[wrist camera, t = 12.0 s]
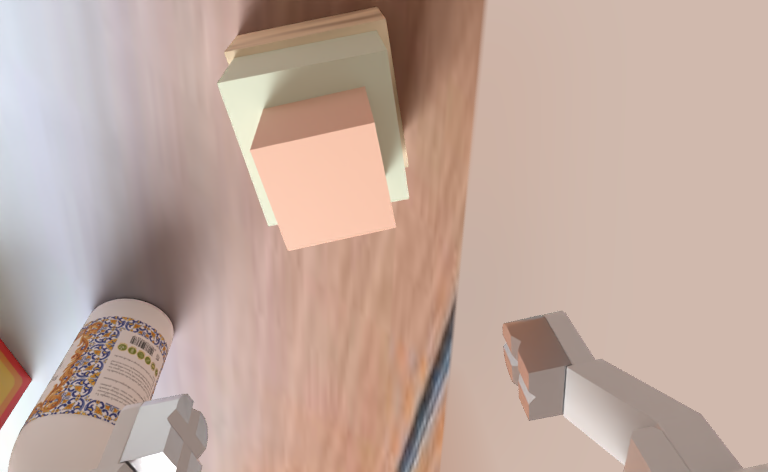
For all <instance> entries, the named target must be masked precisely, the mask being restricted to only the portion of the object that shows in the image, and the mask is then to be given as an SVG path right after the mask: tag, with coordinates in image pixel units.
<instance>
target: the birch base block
mask: <svg viewBox="0 0 768 472" xmlns="http://www.w3.org/2000/svg"><path fill="white" fill-rule="evenodd" d="M375 30H377V32H378V34H379V36H380V38H381V39H382V41H383V43H384V45H385V47H386V49H387V52H388V59H389V66H390V72H391V79H392V86H393V93H394V99H395V106H396V113H397V120H398V126H399V133H400V140H401V147H402V153H403V160H404V167H409V166H408V159H407V153H406V146H405V140H404V133H403V127H402V120H401V114H400V107H399V101H398V94H397V88H396V81H395V75H394V68H393V62H392V55H391V49H390V42H389V36H388V29H387V23H386V18H385V17H384V16H383V14H382V13H381V11H380V10H379V9H378V7H373V8H368V9H363V10H358V11H354V12H349V13H344V14H339V15H334V16H329V17H324V18H320V19H315V20H310V21H305V22H300V23H295V24H290V25H286V26H281V27H276V28H271V29H266V30H261V31H256V32H252V33H247V34H242V35H237V36H236V38H235V39H234V40H233V42H232V43H231V44H230V45H229V47H228V48H227V49H226V51H225V52H224V53H225V56H226V59H227V62H228V64H229V65H230V63H231V62H232V60H233V59H234V58H237V57H242V56H247V55H252V54H257V53H263V52H268V51H273V50H278V49H283V48H288V47H293V46H298V45H304V44H309V43H314V42H319V41H324V40H329V39H334V38H340V37H345V36H350V35H355V34H360V33H365V32H370V31H375Z"/></svg>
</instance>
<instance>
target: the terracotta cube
mask: <svg viewBox="0 0 768 472" xmlns="http://www.w3.org/2000/svg"><path fill="white" fill-rule="evenodd" d="M250 152H251V155H252V157H253V160H254V163H255V165H256V168H257V170H258V173H259V176H260V178H261V181H262V184H263V186H264V189H265V192H266V194H267V197H268V200H269V202H270V205H271V207H272V210H273V213H274V215H275V218H276V221H277V223H278V226H279V229H280V231H281V234H282V237H283V239H284V242H285V244H286V247H287V250H288V251H291V250H295V249H300V248H304V247H309V246H314V245H318V244H323V243H327V242H332V241H336V240H341V239H346V238H350V237H355V236H359V235H364V234H368V233H373V232H378V231H382V230H387V229H391V228H396V224H395V219H394V214H393V209H392V205H391V200H390V195H389V190H388V185H387V180H386V176H385V171H384V166H383V161H382V156H381V151H380V146H379V142H378V137H377V132H376V127H375V122H374V119H373V115H372V111H371V107H370V104H369V100H368V96H367V92H366V89H365V86H364V87H360V88H355V89H351V90H346V91H342V92H337V93H333V94H328V95H324V96H319V97H315V98H310V99H306V100H301V101H297V102H292V103H288V104H283V105H279V106H274V107H270V108H265V109H263V111H262V114H261V117H260V120H259V124H258V127H257V130H256V133H255V136H254V139H253V142H252V145H251V148H250Z"/></svg>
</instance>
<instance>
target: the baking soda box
mask: <svg viewBox="0 0 768 472" xmlns="http://www.w3.org/2000/svg"><path fill="white" fill-rule="evenodd" d="M31 381H32V379H31V378H30V377H29V375H28V374H27V373H26V371H25V370H24V369H23V367H22V366H21V365H20V363H19V362H18V361H17V360H16V358H15V357H14V356H13V354H12V353H11V352H10V350H9V349H8V348H7V346H6V345H5V344H4V342H3V341H2V340H1V339H0V429H1V428H2V426H3V425H4V423H5V421H6V420H7V418H8V417H9V415H10V414H11V412H12V410H13V409H14V407H15V406H16V404H17V403H18V401H19V399H20V398H21V396H22V395H23V393H24V392H25V390H26V389H27V387H28V385H29V384H30V382H31Z"/></svg>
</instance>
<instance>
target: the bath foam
mask: <svg viewBox="0 0 768 472" xmlns="http://www.w3.org/2000/svg"><path fill="white" fill-rule="evenodd" d="M173 335H174V330H173V326H172V323H171V321H170V319H169V318H168V317H167V315H166V314H165V313H164V312H163V311H161V310H160V309H159V308H157V307H156V306H154V305H152V304H150V303H147V302H144V301H141V300H136V299H115V300H111V301H108V302H105V303H103V304H101V305H100V306H98V307H97V308H96V309H95V310H94V311H93V312H92V313H91V314H90V316H89V318H88V319H87V321H86V322H85V324H84V326H83V328H82V329H81V330H80V332H79V334H78V335H77V337H76V339H75V340H74V342H73V344H72V345H71V347H70V349H69V350H68V352H67V354H66V355H65V357H64V359H63V361H62V362H61V364H60V366H59V367H58V369H57V371H56V372H55V374H54V376H53V377H52V379H51V381H50V382H49V384H48V386H47V387H46V389H45V391H44V392H43V394H42V396H41V397H40V399H39V401H38V402H37V404H36V406H35V407H34V409H33V411H32V412H31V414H30V416H29V417H28V419H27V421H26V422H25V424H24V426H23V427H22V429H21V431H20V433H19V435H18V438H17V440H16V442H15V444H14V447H13V450H12V453H11V457H10V460H9V466H8V472H89V471H90V470H92V469H96V468H97V467H98V465H99V462H100V460H101V458H102V455H103V453H104V450H105V448H106V445H107V443H108V440H109V438H110V435H111V433H112V431H113V428H114V426H115V423H116V421H117V418H118V416H119V413H120V411H121V410H122V409H123V408H124V407H125V406H126V405H131V404H135V403H140V402H145V401H150V400H151V399H152V396H153V393H154V390H155V388H156V385H157V382H158V379H159V376H160V374H161V371H162V368H163V365H164V363H165V360H166V357H167V354H168V351H169V349H170V346H171V343H172V340H173Z"/></svg>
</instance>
